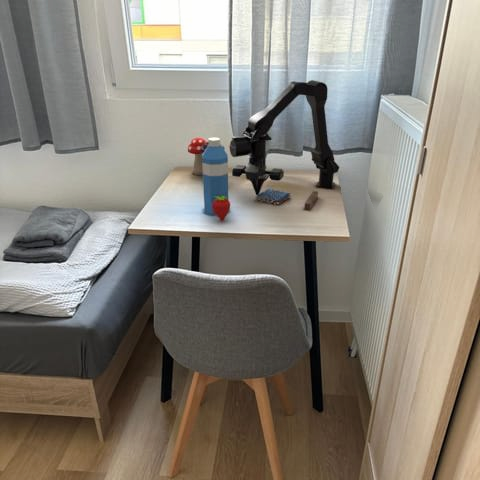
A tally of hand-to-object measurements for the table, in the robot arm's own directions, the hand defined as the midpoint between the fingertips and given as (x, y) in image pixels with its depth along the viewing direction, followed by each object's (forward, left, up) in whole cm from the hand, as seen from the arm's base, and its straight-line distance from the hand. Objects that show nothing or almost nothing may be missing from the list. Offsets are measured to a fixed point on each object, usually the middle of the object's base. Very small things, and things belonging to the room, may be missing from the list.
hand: (257, 194), depth 187 cm
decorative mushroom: (-21, -33, -1) cm, 39 cm away
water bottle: (+18, -10, -1) cm, 21 cm away
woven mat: (0, +6, -1) cm, 6 cm away
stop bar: (0, +21, -1) cm, 21 cm away
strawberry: (+26, -5, -1) cm, 27 cm away
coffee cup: (-14, -24, -1) cm, 28 cm away
